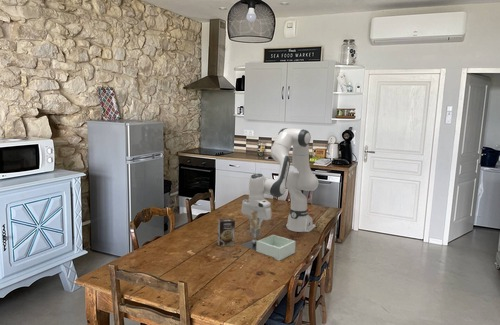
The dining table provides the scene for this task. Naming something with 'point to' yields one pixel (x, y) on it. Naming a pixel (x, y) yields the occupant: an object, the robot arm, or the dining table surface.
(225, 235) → the coffee box
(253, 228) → the strut
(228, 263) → the dining table surface
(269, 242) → the bin
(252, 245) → the stud plate
